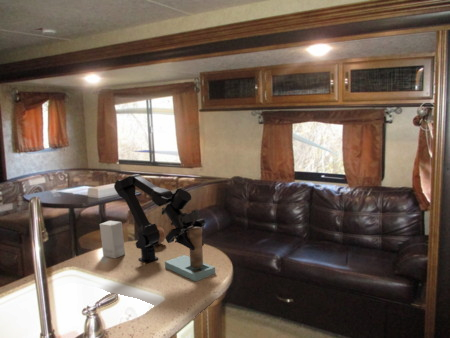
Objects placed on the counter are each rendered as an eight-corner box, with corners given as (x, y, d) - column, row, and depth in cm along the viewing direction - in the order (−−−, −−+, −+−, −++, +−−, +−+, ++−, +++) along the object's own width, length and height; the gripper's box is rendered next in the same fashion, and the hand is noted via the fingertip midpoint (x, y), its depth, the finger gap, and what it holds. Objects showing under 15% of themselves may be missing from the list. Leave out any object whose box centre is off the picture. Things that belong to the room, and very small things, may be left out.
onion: (155, 240, 183) (154, 221, 182) (169, 243, 178) (168, 223, 177) (142, 246, 175) (141, 226, 174) (157, 249, 170) (155, 229, 169)
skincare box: (125, 254, 165) (123, 221, 163) (114, 259, 159) (111, 225, 157) (113, 251, 169) (110, 219, 167) (101, 256, 164) (99, 223, 162)
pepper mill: (187, 266, 139) (186, 229, 137) (194, 262, 144) (193, 226, 142) (199, 268, 137) (197, 231, 135) (205, 264, 142) (203, 227, 140)
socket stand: (165, 267, 148) (164, 261, 148) (184, 260, 155) (184, 254, 155) (195, 281, 134) (195, 275, 133) (215, 273, 141) (215, 267, 140)
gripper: (169, 209, 132) (193, 243, 127) (201, 199, 147) (224, 229, 142) (155, 226, 138) (178, 259, 133) (188, 215, 153) (209, 245, 148)
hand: (198, 247), depth 139 cm, fingers closed on pepper mill, 5 cm apart
